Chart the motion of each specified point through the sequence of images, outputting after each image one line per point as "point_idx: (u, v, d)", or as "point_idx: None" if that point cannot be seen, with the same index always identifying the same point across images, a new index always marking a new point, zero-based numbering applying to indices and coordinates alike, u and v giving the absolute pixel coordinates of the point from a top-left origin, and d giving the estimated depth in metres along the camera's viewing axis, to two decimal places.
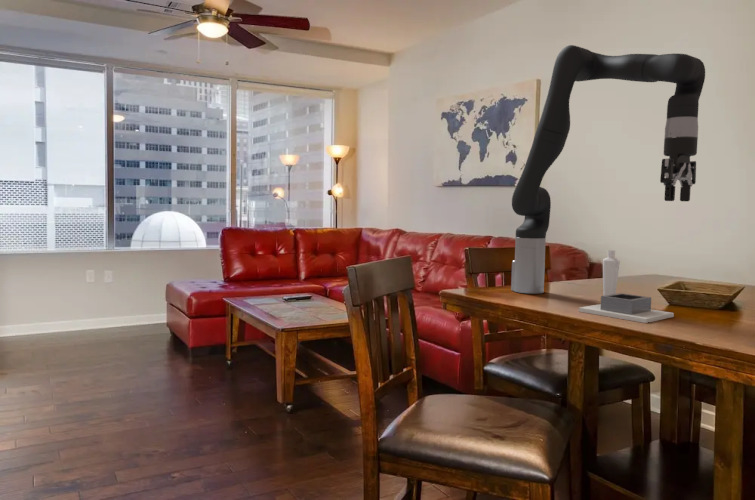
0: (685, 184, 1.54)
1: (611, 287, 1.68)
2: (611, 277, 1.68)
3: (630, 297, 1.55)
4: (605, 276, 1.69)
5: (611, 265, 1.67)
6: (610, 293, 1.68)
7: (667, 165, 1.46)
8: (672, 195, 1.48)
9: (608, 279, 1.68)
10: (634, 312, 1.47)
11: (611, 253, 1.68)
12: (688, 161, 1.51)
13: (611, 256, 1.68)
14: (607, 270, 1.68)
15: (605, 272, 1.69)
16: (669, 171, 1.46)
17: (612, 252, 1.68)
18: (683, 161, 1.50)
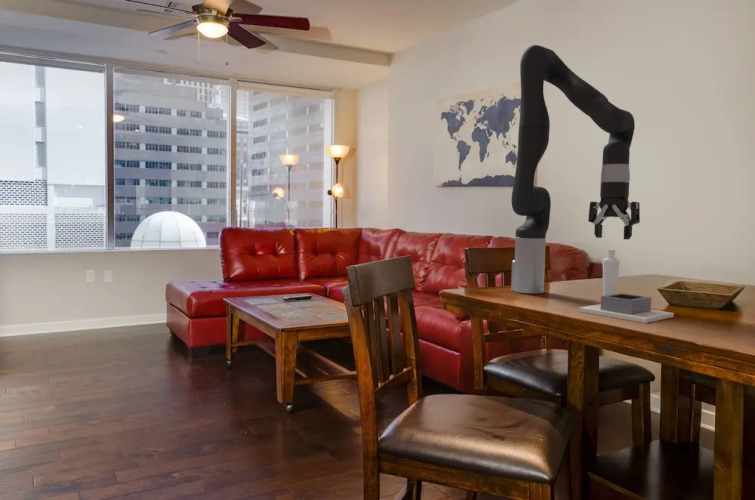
0: (599, 222, 1.72)
1: (611, 287, 1.68)
2: (611, 277, 1.68)
3: (630, 297, 1.55)
4: (605, 276, 1.69)
5: (611, 265, 1.67)
6: (610, 293, 1.68)
7: (637, 208, 1.63)
8: None
9: (608, 279, 1.68)
10: (634, 312, 1.47)
11: (611, 253, 1.68)
12: None
13: (611, 256, 1.68)
14: (607, 270, 1.68)
15: (605, 272, 1.69)
16: (639, 213, 1.63)
17: (612, 252, 1.68)
18: None
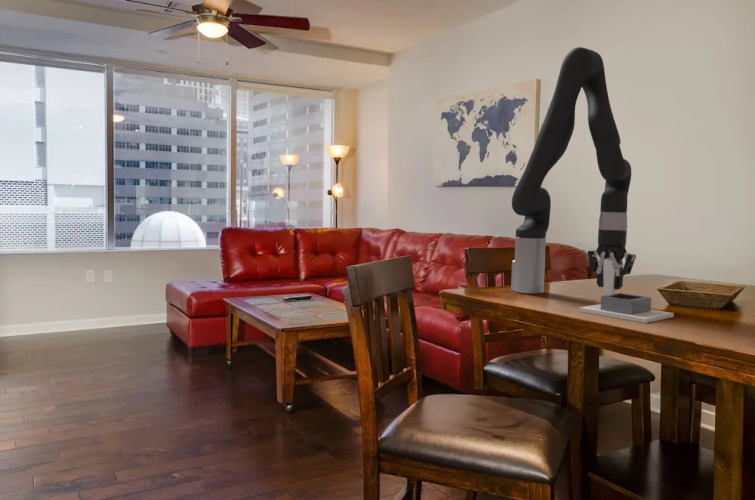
0: (602, 272, 1.72)
1: (611, 287, 1.68)
2: (611, 277, 1.68)
3: (630, 297, 1.55)
4: (605, 276, 1.69)
5: (611, 265, 1.67)
6: (610, 293, 1.68)
7: (632, 261, 1.65)
8: None
9: (608, 279, 1.68)
10: (634, 312, 1.47)
11: None
12: None
13: None
14: (607, 270, 1.68)
15: (605, 272, 1.68)
16: (632, 266, 1.65)
17: None
18: None
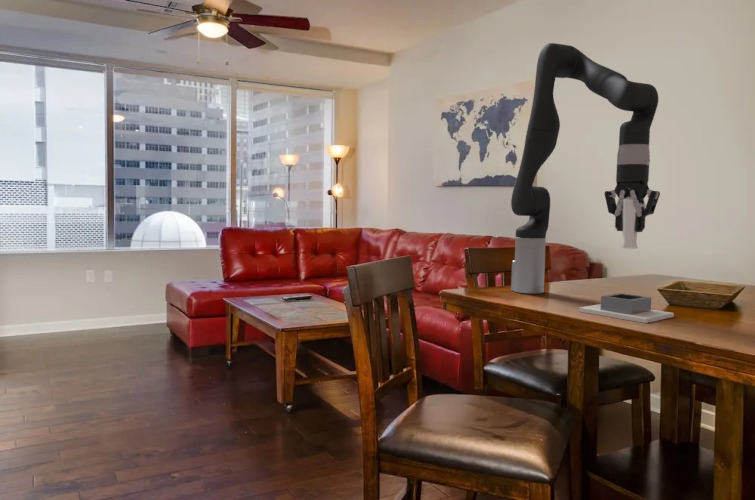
0: (621, 214, 1.53)
1: (631, 229, 1.49)
2: (632, 218, 1.49)
3: (630, 297, 1.55)
4: (625, 217, 1.50)
5: (632, 205, 1.49)
6: (631, 236, 1.50)
7: (656, 198, 1.46)
8: None
9: (628, 221, 1.49)
10: (634, 312, 1.47)
11: None
12: None
13: None
14: (627, 210, 1.49)
15: (625, 213, 1.50)
16: (655, 204, 1.47)
17: None
18: None
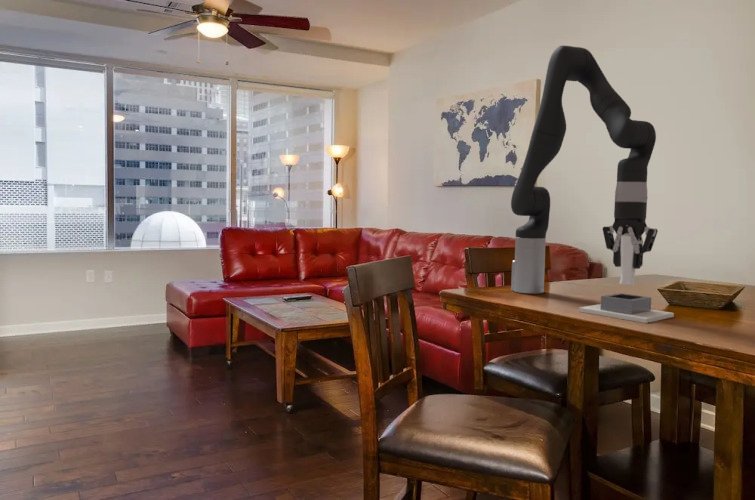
0: (619, 249, 1.53)
1: (629, 266, 1.50)
2: (630, 254, 1.50)
3: (630, 297, 1.55)
4: (623, 254, 1.50)
5: (630, 242, 1.49)
6: (629, 273, 1.50)
7: (653, 236, 1.46)
8: None
9: (626, 257, 1.50)
10: (634, 312, 1.47)
11: None
12: None
13: None
14: (625, 247, 1.50)
15: (623, 249, 1.50)
16: (653, 242, 1.47)
17: None
18: None
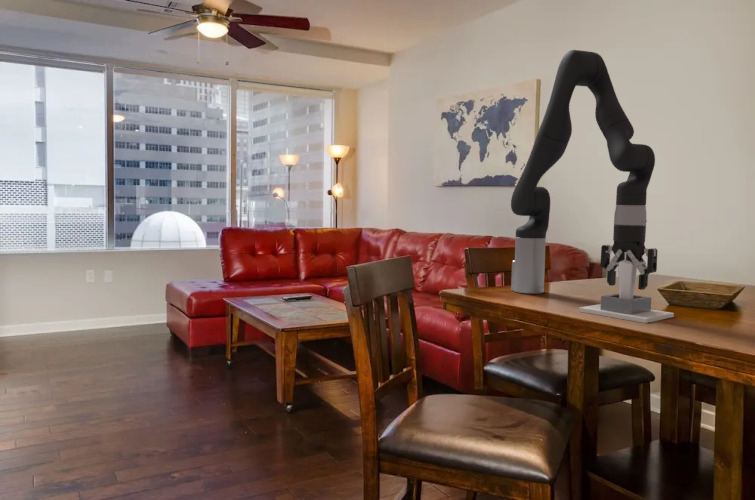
0: (613, 268, 1.55)
1: (627, 293, 1.51)
2: (628, 281, 1.50)
3: None
4: (621, 281, 1.51)
5: (628, 269, 1.50)
6: None
7: (655, 255, 1.46)
8: None
9: (624, 284, 1.51)
10: (634, 312, 1.47)
11: None
12: None
13: None
14: (623, 273, 1.50)
15: (621, 276, 1.51)
16: (656, 261, 1.47)
17: None
18: None
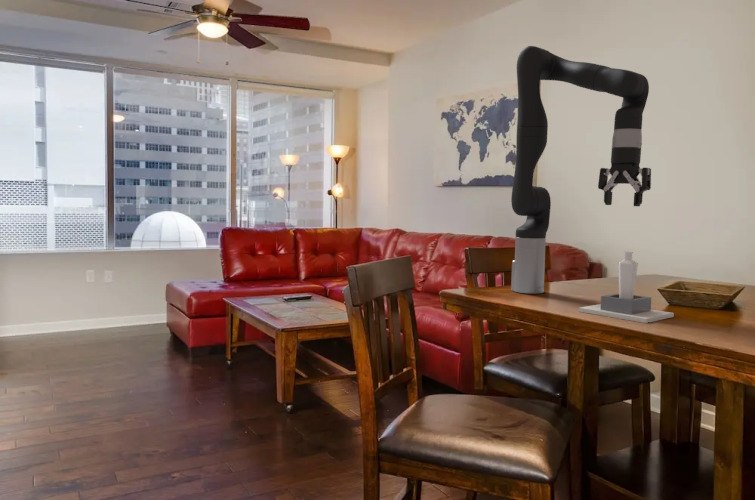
0: (609, 189, 1.68)
1: (628, 293, 1.51)
2: (628, 281, 1.50)
3: None
4: (621, 281, 1.51)
5: (628, 269, 1.50)
6: None
7: (648, 174, 1.59)
8: None
9: (624, 284, 1.51)
10: (634, 312, 1.47)
11: (628, 255, 1.51)
12: None
13: (628, 258, 1.51)
14: (623, 273, 1.51)
15: (621, 276, 1.51)
16: (650, 179, 1.60)
17: (629, 254, 1.51)
18: None
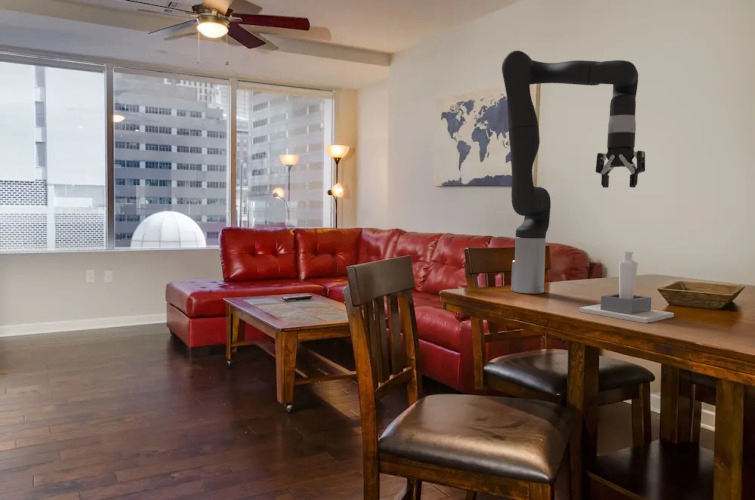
0: (606, 173, 1.79)
1: (627, 293, 1.51)
2: (628, 281, 1.50)
3: None
4: (621, 280, 1.51)
5: (628, 269, 1.50)
6: None
7: (643, 156, 1.70)
8: None
9: (624, 284, 1.51)
10: (634, 312, 1.47)
11: (628, 255, 1.51)
12: None
13: (628, 258, 1.51)
14: (623, 273, 1.51)
15: (621, 276, 1.51)
16: (644, 162, 1.71)
17: (629, 254, 1.51)
18: None
